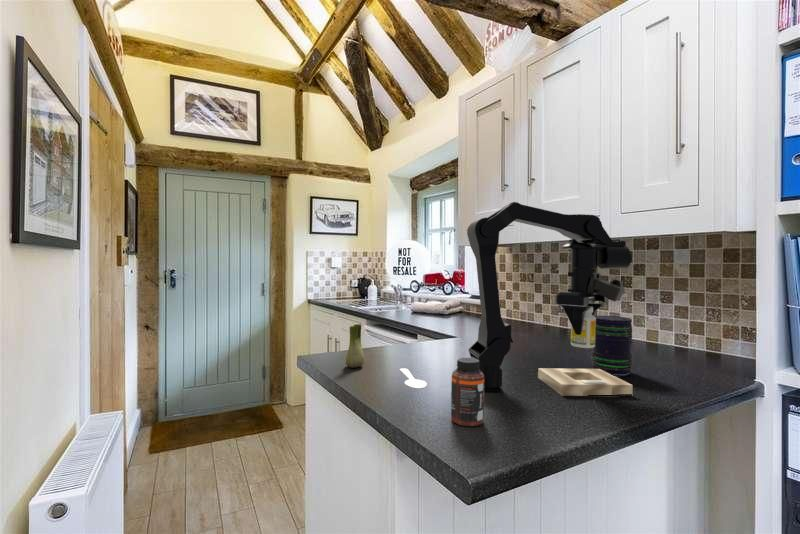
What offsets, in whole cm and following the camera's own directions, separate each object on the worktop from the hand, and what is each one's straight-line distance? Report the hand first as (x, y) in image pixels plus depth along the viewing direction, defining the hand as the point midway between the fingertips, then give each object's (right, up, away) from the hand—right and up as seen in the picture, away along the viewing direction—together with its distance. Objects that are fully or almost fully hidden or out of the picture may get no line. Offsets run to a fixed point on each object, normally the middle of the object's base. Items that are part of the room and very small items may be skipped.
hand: (582, 333), depth 95 cm
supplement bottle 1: (-32, -13, -23) cm, 41 cm away
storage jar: (+15, -13, +14) cm, 24 cm away
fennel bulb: (-56, -12, +15) cm, 60 cm away
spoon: (-41, -13, +5) cm, 44 cm away
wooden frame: (0, -13, 0) cm, 13 cm away
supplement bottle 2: (0, -3, 0) cm, 3 cm away
